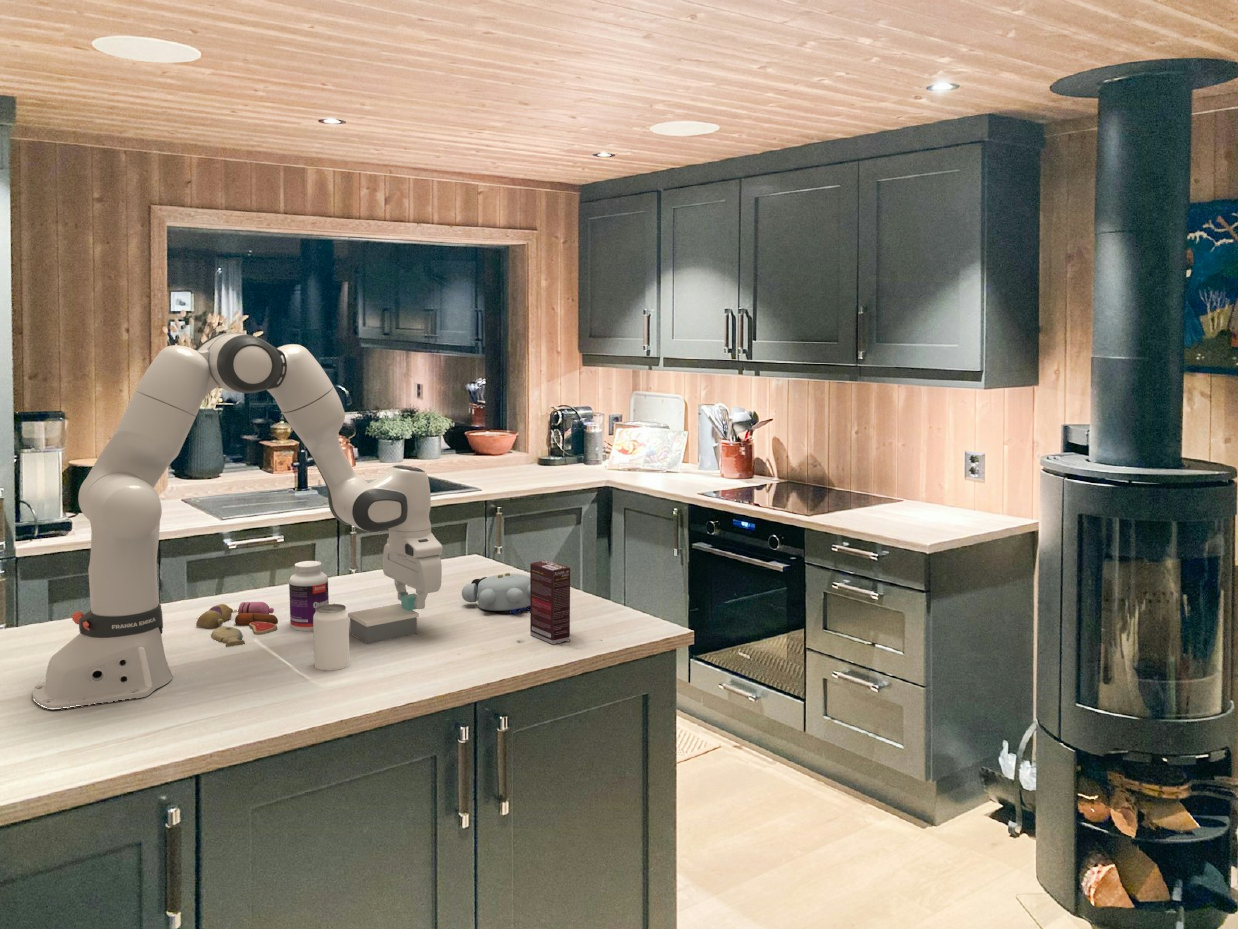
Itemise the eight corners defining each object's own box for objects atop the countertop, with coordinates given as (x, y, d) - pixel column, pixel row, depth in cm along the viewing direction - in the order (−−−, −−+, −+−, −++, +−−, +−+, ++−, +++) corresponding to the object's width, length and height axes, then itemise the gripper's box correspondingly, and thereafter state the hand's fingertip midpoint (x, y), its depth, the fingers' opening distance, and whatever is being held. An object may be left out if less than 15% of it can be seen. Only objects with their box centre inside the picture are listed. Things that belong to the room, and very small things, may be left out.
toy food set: (183, 621, 225) (182, 603, 224) (256, 608, 235) (255, 591, 235) (226, 650, 205) (225, 631, 205) (302, 635, 216) (302, 617, 215)
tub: (367, 647, 207) (367, 626, 206) (350, 637, 213) (350, 616, 212) (417, 637, 214) (416, 616, 213) (399, 627, 220) (398, 607, 219)
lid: (366, 629, 206) (366, 610, 205) (348, 619, 212) (347, 601, 212) (428, 617, 214) (427, 599, 214) (408, 608, 221) (408, 590, 221)
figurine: (559, 606, 237) (504, 597, 251) (556, 570, 237) (502, 564, 250) (502, 621, 225) (448, 611, 239) (499, 583, 224) (445, 576, 238)
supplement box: (571, 640, 213) (571, 567, 211) (552, 645, 210) (552, 570, 208) (547, 630, 219) (547, 559, 217) (529, 635, 216) (529, 562, 214)
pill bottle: (318, 635, 214) (316, 569, 212) (283, 633, 216) (281, 567, 213) (336, 624, 222) (334, 560, 220) (302, 622, 223) (300, 558, 221)
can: (331, 676, 190) (329, 614, 188) (307, 670, 193) (305, 609, 192) (356, 667, 195) (355, 606, 194) (333, 660, 199) (331, 601, 197)
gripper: (374, 534, 221) (376, 596, 223) (419, 551, 205) (420, 618, 207) (401, 531, 224) (402, 591, 226) (446, 547, 209) (447, 612, 211)
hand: (411, 604), depth 216 cm, fingers open, 6 cm apart
